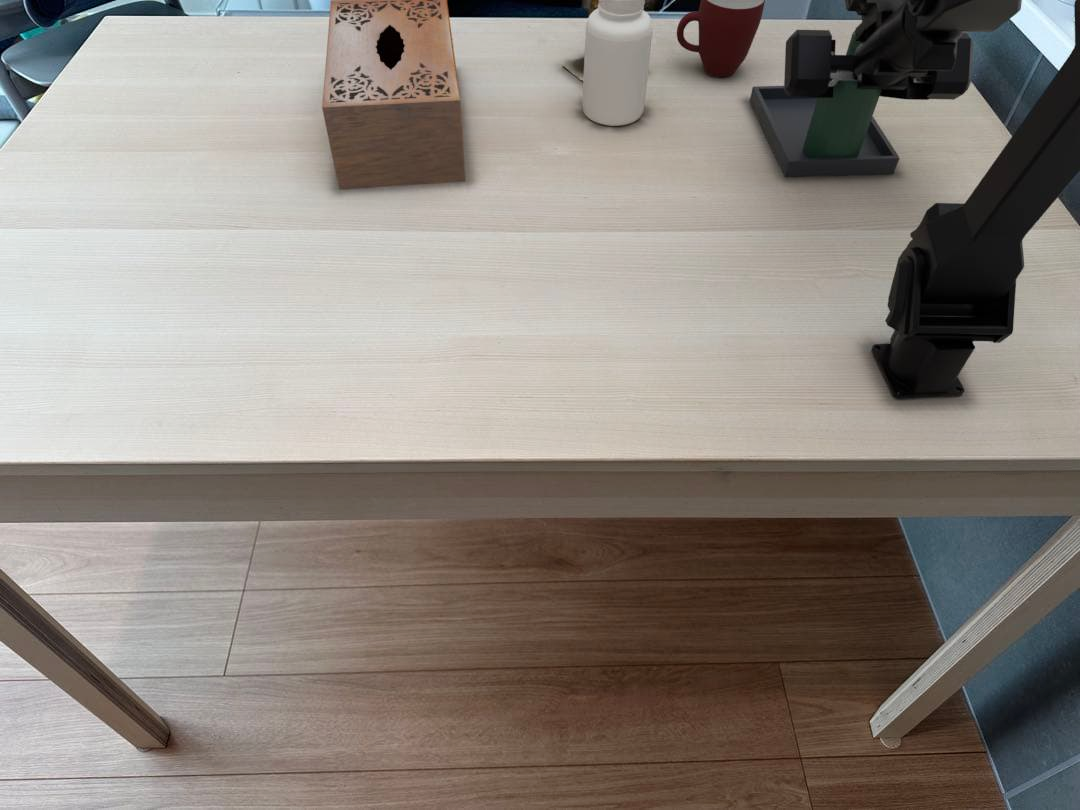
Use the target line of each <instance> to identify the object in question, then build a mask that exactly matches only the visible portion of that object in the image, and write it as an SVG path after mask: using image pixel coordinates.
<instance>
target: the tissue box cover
mask: <svg viewBox="0 0 1080 810" xmlns="http://www.w3.org/2000/svg"><path fill="white" fill-rule="evenodd" d="M327 30H328V31H327V42H326V55H325V65H324V66H325V68H324V79H323V80H324V81H323V91H322V92H323V93H322V104H321V109H322V113H323V118H324V123H325V128H326V133H327V137H328V142H329V147H330V152H331V157H332V163H333V166H334V171H335V176H336V181H337V186H338V189H339V190H350V189H363V188H364V189H365V188H366V189H367V188H379V187H381V188H382V187H395V186H396V187H397V186H413V185H426V184H427V185H429V184H442V183H459V182H460V183H461V182H466V181H467V179H466V166H465V164H466V163H465V148H464V135H463V134H464V133H463V121H462V119H463V118H462V105H461V93H460V87H459V79H458V72H457V71H458V70H457V65H456V57H455V50H454V42H453V35H452V26H451V19H450V13H449V6H448V0H330V5H329V18H328V29H327Z"/></svg>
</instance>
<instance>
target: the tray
mask: <svg viewBox="0 0 1080 810" xmlns="http://www.w3.org/2000/svg"><path fill="white" fill-rule="evenodd" d="M817 99H818V98H810V97H794V96H788V95H787V94H786V93H785V92H784V85H757V86H756V85H753V86H752V88H751V93H750V97H749V103H750V106H751V108H752V111H753V112H754V115H755V116H756V119H757V120H758V123H759V124H760V128H761V129H762V131H763V134H764V135H765V138H766V139H767V142H768V144H769V146H770V148H771V150H772V153H773V155H774V157H775V158H776V161H777V163H778V165H779V167H780V170H781V172H782V174H783V176H784V177H785V178H793V177H794V178H795V177H827V176H829V177H831V176H859V175H863V176H864V175H891V174H895V171H896V169H897V166H898V163H899V161H900V159H901V158H900V157H899V154H898V153H897V151H896V150H895V148H894V147H893V145H892V144H891V142H890V141H889V138H887V136H886V135H885V133H884V131H883V130H882V128H881V126H880V125H879V123H878V122H877V121H876V119H875V118H874V115H873V116H872V119H871V121H870V124H869V127H868V130H867V133H866V135H865V138H864V141H863V144H862V147H861V149H860V152H859V155H858V157H833V158H809V157H808V156H807V155H806V154H805V152H804V143H805V139H806V136H807V132H808V129H809V126H810V122H811V119H812V116H813V112H814V109H815V105H816V102H817Z"/></svg>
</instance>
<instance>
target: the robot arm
mask: <svg viewBox="0 0 1080 810" xmlns="http://www.w3.org/2000/svg"><path fill="white" fill-rule="evenodd" d="M1022 2H1023V0H844V3H845V4H844V5H845V10H846V11H847V12H855V13H856V15H857V16H860V17H861V23H859V24H858V25H857V26H856V27H855V30H854V31H855V41H859V46H858V47H857V49H856V51H855V54H854V55H846V54H836V43H837V42H836V41H837V40H836V39H833V35H832V33H831V31H830V29H796V30H795V31H794V32H793V33H792V34H791V35H790V36H789V37H788V38H787V40H786V41H785V52H784V53H785V54H784V55H785V57H784V79H783V86H784V92H785V93H786V94H787V95H788V96H794V97H810V98H833V89H834V85H836V83H837V82H838V81H858V84H857V89H882V91H881V94H880V96H879V97H882V98H891V99H900V100H909V101H910V100H912V101H913V100H914V101H915V100H916V101H917V100H918V101H919V100H920V101H928V100H956V99H958V98H960V97H961V96H963V95H964V94H965V93H966V92H967V91H968V90H969V88H970V85H971V83H972V74H973V73H972V72H973V56H974V41H973V39H972V37H971V36H970V35H969V34H968V32H969V33H970V32H973V33H974V32H975V33H976V32H978V33H990V32H991V33H992V32H994V31H996V30H998V29H999V28H1000V27H1001V26H1002V25H1004V24H1005V23H1006V22H1008V21H1009V20H1010V19H1013V17H1014V16H1016V15H1017V14H1018V13H1019V12H1020V11H1021V10H1022ZM1073 6H1074V7H1073V8H1074V10H1073V11H1074V13H1073V14H1074V47H1073V49H1072V50H1071V52H1070V54H1069V56H1067V59H1066V60H1065V61H1064V62H1063V64H1062V65H1061V67H1060V68H1059V70H1058V71H1057V72H1056V74H1055V75H1054V77H1053V78H1052V79H1051V81H1050V82H1049V84H1048V85H1047V87H1046V88H1045V89H1044V91H1043V92H1042V94H1041V95H1040V96H1039V98H1038V99H1037V100H1036V102H1035V104H1034V105H1033V106H1032V108H1031V109H1030V111H1029V112H1028V114H1027V115H1026V116H1025V118H1024V119H1023V121H1022V122H1021V123H1020V124H1019V126H1018V128H1017V129H1016V130H1015V132H1014V133H1013V134H1012V136H1011V138H1010V139H1009V140H1008V142H1007V143H1006V144H1005V146H1004V147H1003V149H1002V150H1001V152H1000V153H999V155H997V157H996V159H995V160H994V161H993V162H992V164H991V165H990V167H989V168H988V170H987V172H986V173H984V175H983V177H982V178H981V180H980V181H979V182H978V184H977V185H976V186H975V188H974V190H973V191H972V192H971V194H970V195H969V197H968V198H967V200H965V202H964V203H957V202H956V203H955V202H952V203H951V202H935V203H934V204H933V205H931V206H930V207H929V208H928V209H927V210H926V212H925V213H924V216H923V217H922V219H921V222H920V223H919V224H918V226H917V227H916V228H915V230H913V231H911V232H910V234H909V235H910V236H909V237H910V238H911V240H910V241H909V242H908V243H907V245H906V247H905V248H904V250H902V252H901V253H900V255H899V256H898V258H897V263H896V266H895V270H894V273H893V278H892V282H891V285H890V286H891V287H890V289H889V294H888V299H887V309H888V310H889V312H888V314H887V316H886V318H885V323H886V325H887V327H890V328H891V329H892V330H894V331H893V332H892V335H891V337H890V339H889V341H890V342H889V343H874V344H873V345H872V346H871V349H870V351H871V354H872V355H873V358H874V360H875V362H876V364H877V367H878V368H879V370H880V372H881V374H882V377H883V379H884V380H885V383H886V385H887V387H888V389H889V391H890V393H891V395H892V397H893V398H894V399H897V400H908V399H909V400H910V399H911V400H912V399H929V398H930V399H931V398H932V399H933V398H950V397H951V398H952V397H953V398H954V397H962V396H963V394H964V393H965V388H964V386H963V384H962V382H961V380H960V379H959V377H958V376H959V375H960V373H961V371H962V370H963V368H964V367H965V366H966V364H967V362H968V361H969V358H970V357H971V355H972V354H973V352H974V350H976V345H975V344H974V342H992V343H994V344H1000V343H1002V342H1003V341H1005V340H1006V339H1007V338H1008V337H1009V336H1011V335H1012V334H1013V332H1014V325H1015V324H1014V323H1015V322H1014V321H1015V306H1016V305H1015V304H1016V288H1017V279H1018V277H1019V276H1020V274H1021V273H1022V271H1023V270H1024V268H1025V258H1024V246H1023V240H1024V239H1025V237H1026V235H1028V233H1029V232H1030V231H1031V230H1032V228H1033V227H1034V226H1035V225H1036V224H1037V223H1038V221H1039V220H1040V219H1041V218H1042V217H1043V215H1045V213H1046V212H1047V211H1048V210H1049V208H1050V207H1051V206H1052V205H1053V204H1054V203H1055V201H1057V199H1058V198H1059V197H1060V195H1061V194H1062V193H1063V192H1064V191H1065V189H1066V188H1067V187H1068V186H1069V185H1070V184H1071V183H1072V181H1074V179H1075V178H1076V177H1077V175H1078V174H1079V173H1080V0H1074V5H1073ZM839 70H841V71H840V73H839ZM843 70H845V71H844V72H843ZM846 70H848V72H847V71H846ZM850 71H851V72H850ZM854 72H855V73H854Z"/></svg>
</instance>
